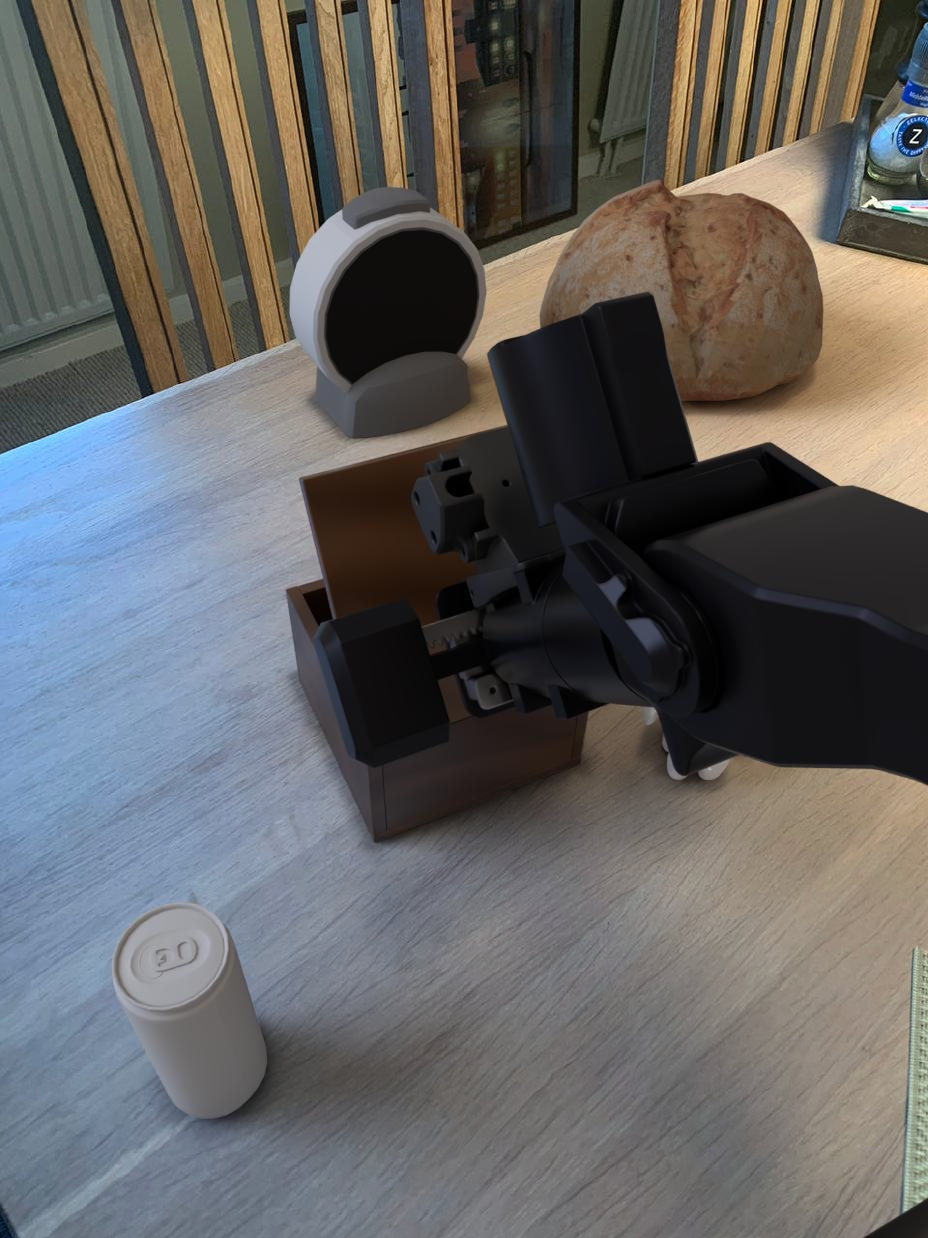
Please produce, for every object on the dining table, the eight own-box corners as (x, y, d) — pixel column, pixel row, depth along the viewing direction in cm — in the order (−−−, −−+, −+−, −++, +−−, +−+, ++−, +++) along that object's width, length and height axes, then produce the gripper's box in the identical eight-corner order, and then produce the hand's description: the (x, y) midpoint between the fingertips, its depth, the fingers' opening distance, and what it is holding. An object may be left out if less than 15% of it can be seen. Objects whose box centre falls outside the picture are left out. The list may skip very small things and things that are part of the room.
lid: (297, 477, 46) (301, 479, 46) (552, 412, 51) (559, 413, 50) (364, 746, 51) (368, 752, 50) (592, 666, 55) (600, 670, 54)
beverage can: (159, 1040, 49) (101, 920, 40) (257, 1007, 50) (220, 883, 41) (175, 1139, 46) (115, 1031, 37) (279, 1101, 47) (243, 988, 38)
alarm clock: (336, 453, 83) (318, 241, 71) (287, 395, 90) (262, 190, 77) (499, 401, 89) (509, 198, 77) (442, 350, 96) (443, 154, 83)
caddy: (299, 680, 65) (285, 589, 60) (484, 621, 70) (488, 530, 64) (374, 843, 57) (366, 754, 51) (580, 764, 61) (595, 674, 55)
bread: (796, 305, 103) (837, 156, 93) (831, 432, 87) (885, 268, 76) (543, 288, 105) (554, 140, 94) (530, 410, 89) (542, 247, 78)
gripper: (762, 358, 39) (589, 442, 53) (304, 474, 33) (252, 532, 48) (838, 631, 39) (646, 640, 54) (401, 793, 33) (320, 753, 48)
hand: (475, 636), depth 51 cm, fingers closed, pressing on lid
